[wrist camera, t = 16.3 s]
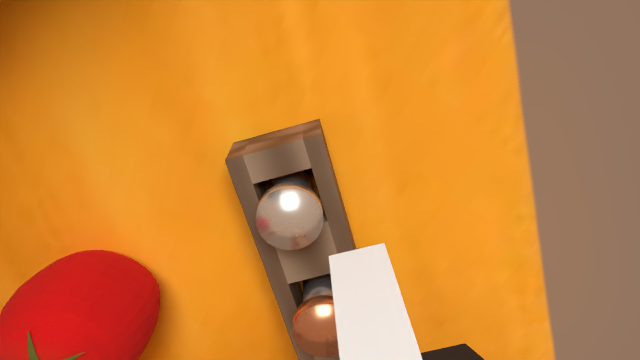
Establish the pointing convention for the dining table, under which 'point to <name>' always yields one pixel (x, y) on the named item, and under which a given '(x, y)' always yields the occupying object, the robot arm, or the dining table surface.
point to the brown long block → (335, 237)
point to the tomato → (82, 310)
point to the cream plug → (290, 212)
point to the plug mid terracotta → (316, 318)
